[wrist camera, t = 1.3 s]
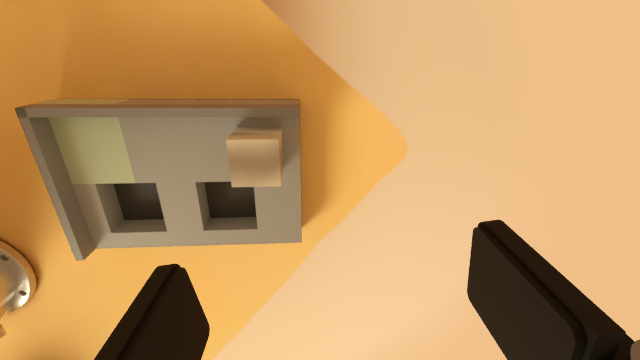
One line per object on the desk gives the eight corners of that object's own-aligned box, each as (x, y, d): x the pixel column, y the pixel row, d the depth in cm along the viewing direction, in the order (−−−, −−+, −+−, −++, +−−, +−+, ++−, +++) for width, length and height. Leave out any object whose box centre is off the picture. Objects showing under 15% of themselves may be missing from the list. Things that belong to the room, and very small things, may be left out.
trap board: (301, 228, 37) (301, 253, 33) (104, 233, 36) (75, 260, 31) (299, 99, 31) (299, 108, 26) (58, 99, 29) (14, 108, 25)
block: (283, 168, 31) (280, 186, 27) (240, 169, 30) (231, 187, 26) (281, 127, 29) (278, 139, 25) (236, 127, 29) (226, 139, 25)
